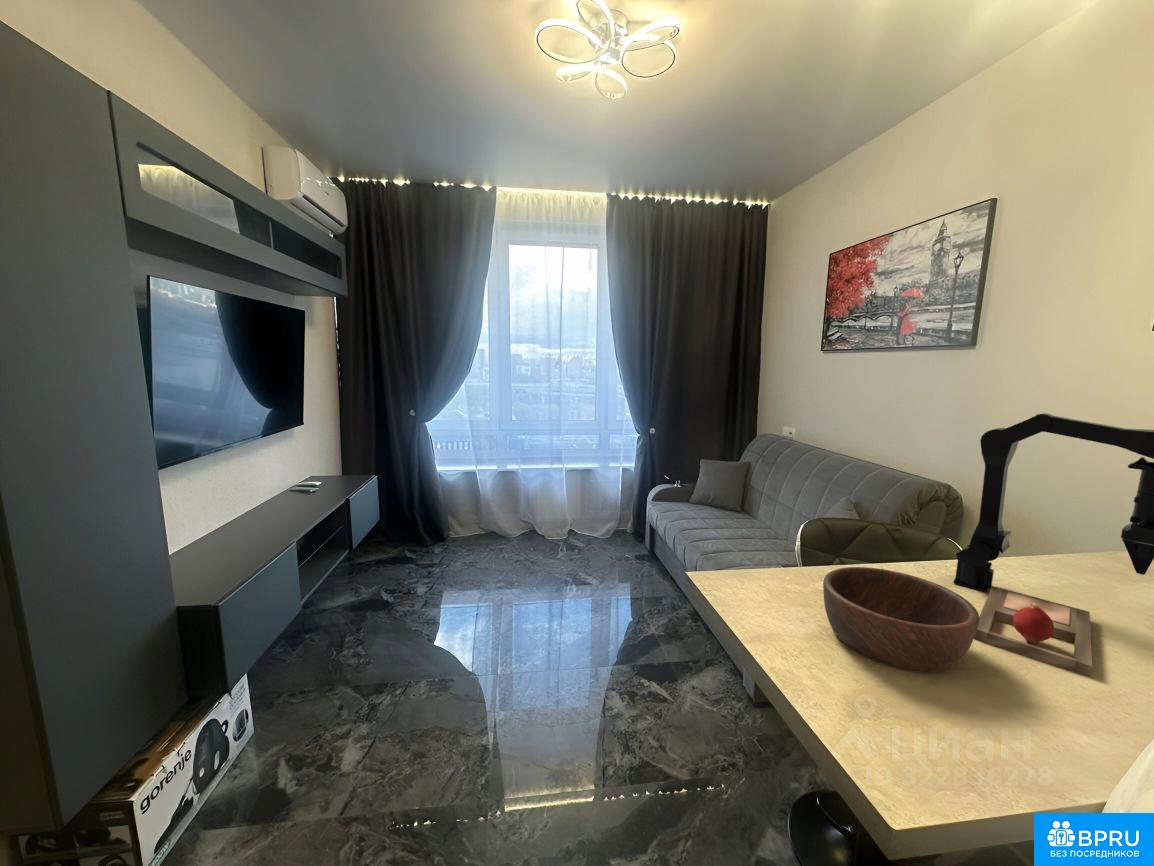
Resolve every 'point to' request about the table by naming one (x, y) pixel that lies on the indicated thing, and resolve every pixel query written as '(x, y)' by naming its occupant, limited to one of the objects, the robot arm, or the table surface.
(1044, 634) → the onion
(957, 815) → the table surface
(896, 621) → the wooden bowl
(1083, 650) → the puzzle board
